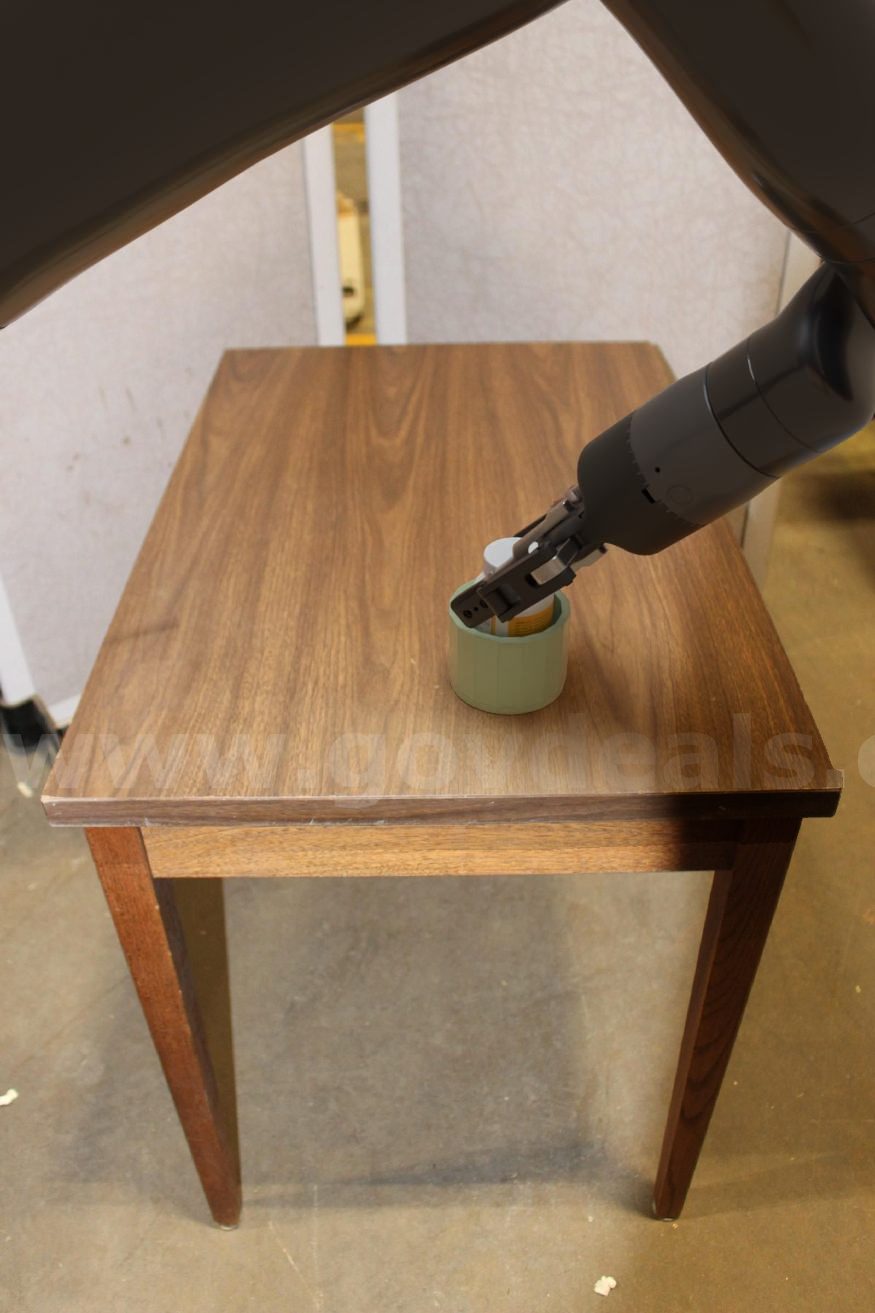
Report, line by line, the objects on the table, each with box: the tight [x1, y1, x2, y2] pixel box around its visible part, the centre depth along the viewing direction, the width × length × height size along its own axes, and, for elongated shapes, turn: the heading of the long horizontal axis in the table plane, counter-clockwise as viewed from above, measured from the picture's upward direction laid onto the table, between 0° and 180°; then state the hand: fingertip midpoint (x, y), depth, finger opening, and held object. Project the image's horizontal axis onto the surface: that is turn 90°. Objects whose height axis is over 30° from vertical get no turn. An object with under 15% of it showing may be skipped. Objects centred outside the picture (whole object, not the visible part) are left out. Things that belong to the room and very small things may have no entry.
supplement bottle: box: [473, 536, 554, 637], centre depth 70 cm, size 5×5×10 cm
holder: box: [448, 577, 572, 716], centre depth 72 cm, size 8×8×6 cm
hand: (490, 582), depth 70 cm, fingers open, 8 cm apart
